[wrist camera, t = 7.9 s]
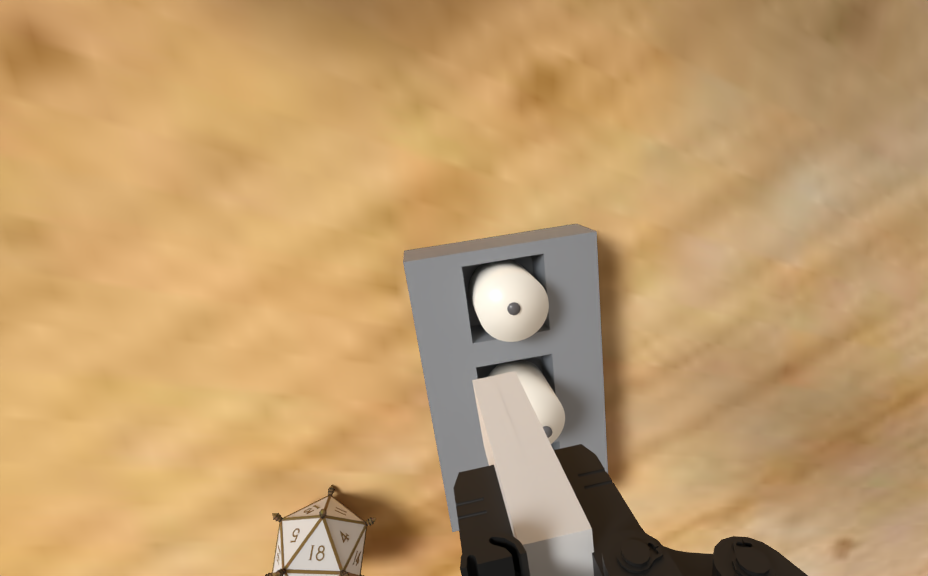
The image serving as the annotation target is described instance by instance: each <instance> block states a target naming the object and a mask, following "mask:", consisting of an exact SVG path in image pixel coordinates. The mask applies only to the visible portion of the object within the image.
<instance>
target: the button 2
mask: <svg viewBox="0 0 928 576" xmlns="http://www.w3.org/2000/svg"><path fill="white" fill-rule="evenodd" d="M514 371H515V372H516V374H517V376H518V378H519V380H520V382H521V384H522V386H523V388H524V390H525V393H526V395H527V397H528V399H529V401H530V403H531V405H532V407H533V409H534V411H535V413H536V415H537V417H538V419H539V421H540V423H541V425H542V427H543V429H544V431H545V434H546V436H547V438H548V440H549V442H550V444H552V443H553V442H554V441H555V440H556V439H557V438H558V437H559V435H560V434H561V432H562V430H563V427H564V424H565V412H564V409H563V406H562V404H561V403H560V401H559V400H558V398H557V396H556V395H555V393H554V392H553V390H552V388H551V387H550V385H549V383H548V382H547V380H546V379H545V377H544V375H543V374H542V372H541V371H540V369H539V368H538V367H537V366H536V365H535V364H533V363H531V362H529V361H526V360H522V359H520V360H515V361H509V362H504V363H501V364H499V365H498V366H496V367H495V368H494V369H493V370H492V371H491V372H490V374H489V375H488V377H490V376H495V375H500V374H504V373H509V372H514Z"/></svg>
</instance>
